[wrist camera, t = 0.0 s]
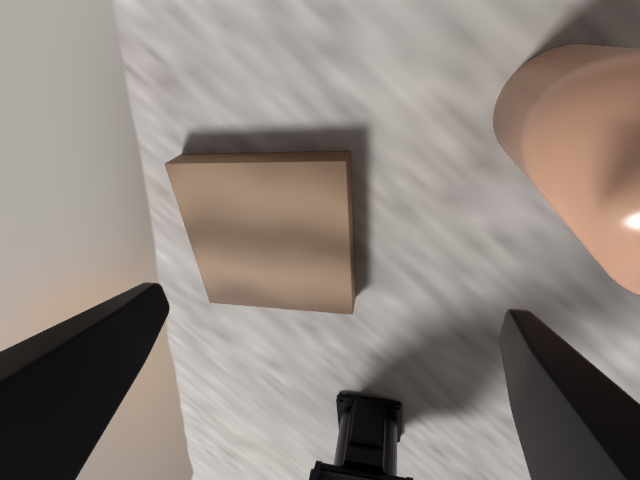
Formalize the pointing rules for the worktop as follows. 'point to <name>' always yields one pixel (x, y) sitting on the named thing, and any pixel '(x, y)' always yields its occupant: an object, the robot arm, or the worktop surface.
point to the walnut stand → (270, 227)
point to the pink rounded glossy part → (581, 145)
